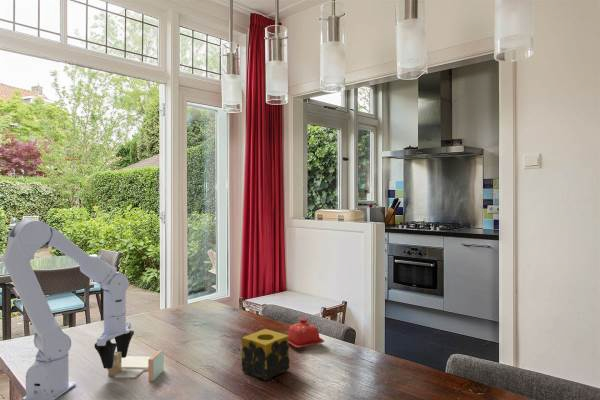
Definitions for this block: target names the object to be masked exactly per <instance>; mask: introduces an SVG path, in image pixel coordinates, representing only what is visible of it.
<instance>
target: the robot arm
mask: <svg viewBox="0 0 600 400" xmlns="http://www.w3.org/2000/svg"><path fill="white" fill-rule="evenodd" d="M43 246H46V247H51V248H55V249H56V250H57V251H60V252H61V253H62V254H64V255H65V256H67V257H68V258H69V259H71V260H73V261H75V263H77V264H78V265H79V271H80V273H82V274H84V275H85V276H86V277H88V278H89V279H90V280H92V281H93V282H95V283H96V284H97V285H99V287H100V288H101V289H102V290H103V331H102V333H101V334H100V336H99V337H97V338H96V343H94V346H93V347H94V349H95V350H96V351H97V353H98V355H99V357H100V360H101V363H102V367H103V369H105V370H106V369H107V370H108V369H111V368H112V366H113V359H114V352H121V358H125V357H126V356H128V355H127V354H128V351H129V346H130V343H131V340H132V338H133V336H134V335H135V331H134V330H131V328H132V322H130V321H129V322H127V314H126V313H127V306H126V304H127V302H126V301H127V300H126V292H127V290H128V288H129V286H130V281H129V279H128V277H127V275H126V274H124V273H122V272H119V271H117V270H118V268H117V267H116V266H114V265H113V266H112V265H111V264H110V263H108V262H106V260H105V257H104V256H103V255H101V254H99V255H98V254H96V253H95V254H88V253H86V251H85V250H83V249H82V248H81V247H79V246H78V245H77V244H75V243H74V242H73V241H72V240H71V239H69V237H67V236H66V235H65V234H63V233H62V232H61V231H59V230H58V229H56V228H54V227H52V226H49V224H48V223H46V222H45V221H42V220H34V219H23V220H19V222H17V223H16V224H15V225H14V226H13V227H12V229H11V230H10V232H8V237H7V243H6V247H5V252H4V256H3V258H2V260H3V264H4V266H5V269H6V271H7V273H8V275H9V277H10V280H11V282H12V284H13V286H14V288H15V290H16V293H17V294H18V297H19V299H20V301H21V303H22V306H23V308H24V309H25V312H26V314H27V317H28V319H29V320H30V323H31V325H32V326H31V328H32V331H33V334H34V337H33V344H34V347H36V349H38V350H37V352H36V355H35V361H34V363H33V364H32V365H31V366H30V367H29V368H28V369H27V371H26V372H25V373H26V374H25V396H23V397H22V400H56V399H57V398H59V397H61V396H62V395H63V394H64V393H66V392H68V391H69V390H70V389H72V388H74V387H75V386H76V385H77V382H76V381H75V382H74V381H70V380H69V379H70V378H69V376H70V374H69V369H70V368H69V367H70V366H69V364H70V363H69V359H70V358H69V355H70V354H69V353H70V352H69V351H70V350H71V347H72V339H71V337H70V335H68V334H67V333H65V332H64V331H63V330H62V328H61V327H62V326H60V324H59V323H58V321H57V320H56V318H55V316H54V314H53V312H52V309H51V307H50V305H49V303H48V300H47V298H46V296H45V293H44V291H43V290H42V287H41V285H40V283H39V280H38V278H37V275H36V273H35V272H34V268H33V267H32V265H31V260H32V258H34V256H35V255H36V252H37V251H38V250H39V249H41V248H42V247H43ZM113 339H114V340H115V342H112V341H111V340H113Z"/></svg>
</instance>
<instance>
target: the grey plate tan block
mask: <svg viewBox="0 0 600 400" xmlns="http://www.w3.org/2000/svg"><path fill="white" fill-rule="evenodd" d="M107 370H108V371H107V375H108V377H109V376H111V377H112V376H113V377H114V379H129V380H130V379H133V380H136V379H137V378H138V377H139V376H140V375H142V373H144V372H145V371H144V370H140V369H123V370H122V359H121V352H117V351H115V352H114V359H113V366H112V368H111V369H107Z"/></svg>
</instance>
